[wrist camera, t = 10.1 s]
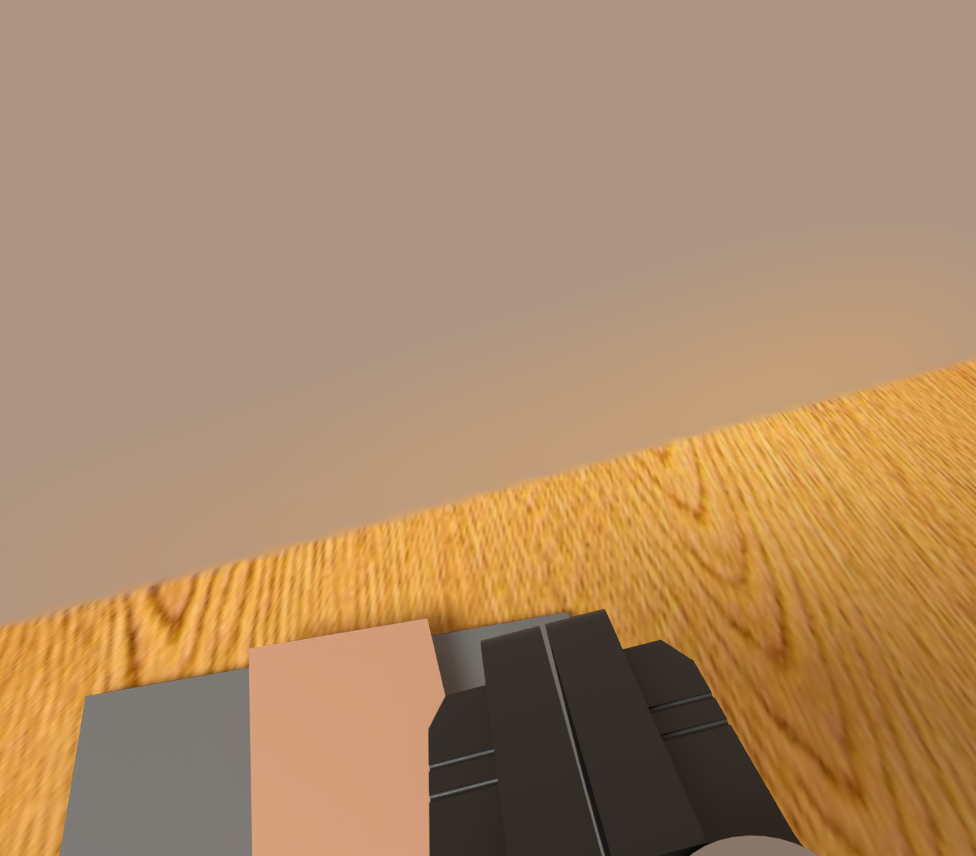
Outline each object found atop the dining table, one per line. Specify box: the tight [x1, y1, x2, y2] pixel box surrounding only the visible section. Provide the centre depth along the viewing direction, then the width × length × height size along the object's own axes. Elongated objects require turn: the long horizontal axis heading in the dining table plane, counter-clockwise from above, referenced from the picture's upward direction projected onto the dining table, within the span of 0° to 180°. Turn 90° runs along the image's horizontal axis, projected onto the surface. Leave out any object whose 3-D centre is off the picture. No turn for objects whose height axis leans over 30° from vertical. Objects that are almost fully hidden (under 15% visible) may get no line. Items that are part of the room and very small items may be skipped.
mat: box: [60, 612, 605, 856], centre depth 29 cm, size 20×14×1 cm
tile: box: [249, 618, 445, 856], centre depth 29 cm, size 7×2×10 cm
